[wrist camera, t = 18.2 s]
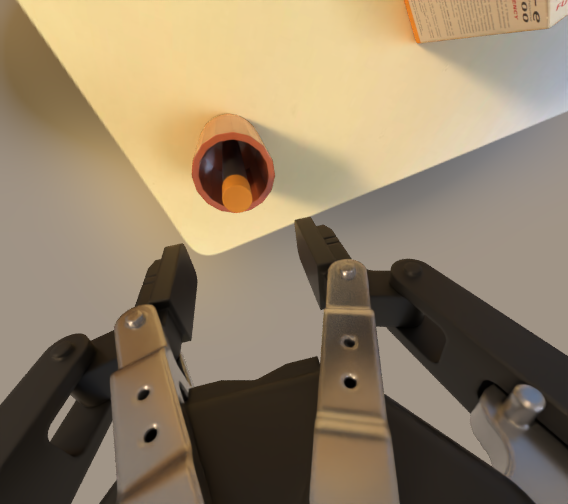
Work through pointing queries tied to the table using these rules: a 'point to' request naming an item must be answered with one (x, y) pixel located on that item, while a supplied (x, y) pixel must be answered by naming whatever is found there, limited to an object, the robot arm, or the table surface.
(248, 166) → the pen cup
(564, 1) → the supplement box
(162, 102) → the table surface
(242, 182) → the marker
